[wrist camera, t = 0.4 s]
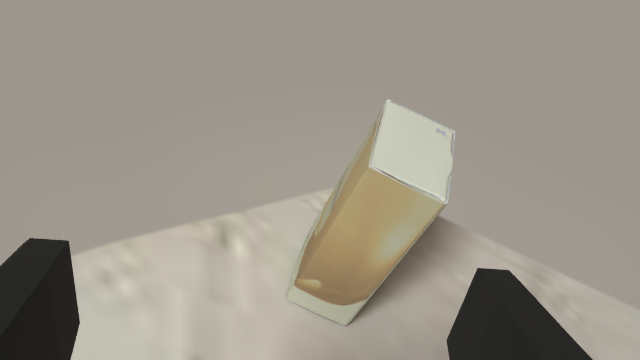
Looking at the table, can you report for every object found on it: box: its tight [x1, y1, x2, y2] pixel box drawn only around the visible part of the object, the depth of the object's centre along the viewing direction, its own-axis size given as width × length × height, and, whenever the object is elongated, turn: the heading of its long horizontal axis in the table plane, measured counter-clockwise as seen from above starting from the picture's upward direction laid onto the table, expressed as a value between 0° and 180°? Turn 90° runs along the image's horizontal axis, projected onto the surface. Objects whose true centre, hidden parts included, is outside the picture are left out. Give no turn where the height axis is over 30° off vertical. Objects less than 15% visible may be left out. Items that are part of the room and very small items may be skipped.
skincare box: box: [286, 100, 455, 326], centre depth 33 cm, size 6×4×12 cm
